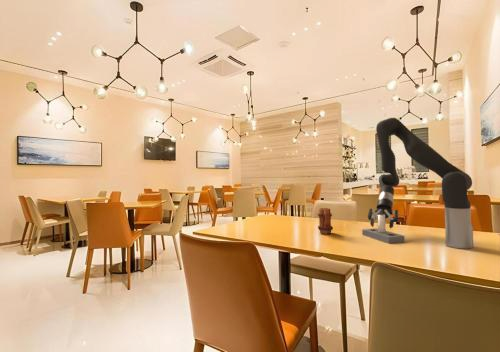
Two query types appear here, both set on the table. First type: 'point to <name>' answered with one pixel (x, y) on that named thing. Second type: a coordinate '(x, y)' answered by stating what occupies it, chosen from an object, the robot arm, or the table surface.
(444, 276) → the table surface
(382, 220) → the plug
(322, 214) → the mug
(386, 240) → the gray slotted tray
